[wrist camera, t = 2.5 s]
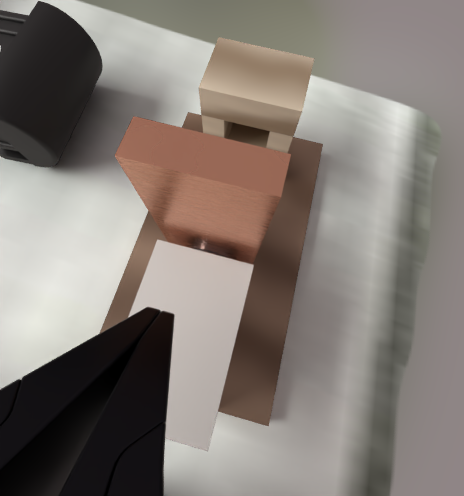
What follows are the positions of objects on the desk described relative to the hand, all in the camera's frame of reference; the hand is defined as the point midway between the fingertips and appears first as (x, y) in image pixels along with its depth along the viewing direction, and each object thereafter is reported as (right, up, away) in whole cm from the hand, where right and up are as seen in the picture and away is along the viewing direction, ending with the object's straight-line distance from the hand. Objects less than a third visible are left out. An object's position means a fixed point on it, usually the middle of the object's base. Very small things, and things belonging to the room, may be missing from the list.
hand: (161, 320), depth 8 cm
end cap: (-13, +13, +16) cm, 25 cm away
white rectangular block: (0, -4, +11) cm, 11 cm away
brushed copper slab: (+1, 0, +9) cm, 9 cm away
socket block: (+3, +10, +15) cm, 19 cm away
